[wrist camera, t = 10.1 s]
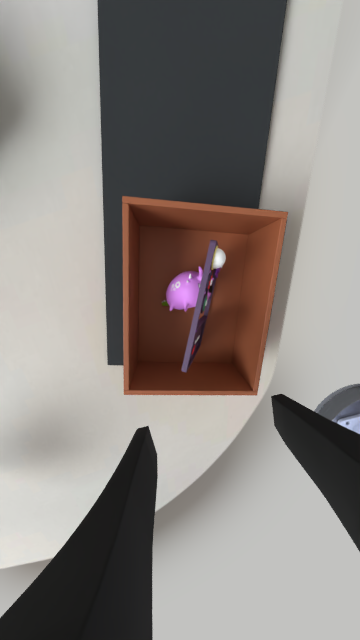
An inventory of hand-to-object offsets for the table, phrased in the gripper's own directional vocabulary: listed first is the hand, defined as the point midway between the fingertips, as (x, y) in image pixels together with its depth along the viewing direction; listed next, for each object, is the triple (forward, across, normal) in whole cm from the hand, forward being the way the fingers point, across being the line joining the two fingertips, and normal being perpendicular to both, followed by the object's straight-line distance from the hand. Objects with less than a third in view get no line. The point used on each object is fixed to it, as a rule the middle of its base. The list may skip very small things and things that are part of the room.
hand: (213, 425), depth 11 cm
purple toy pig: (+10, -1, -6) cm, 11 cm away
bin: (+10, -1, -6) cm, 12 cm away
